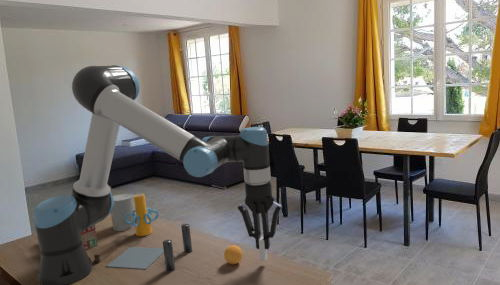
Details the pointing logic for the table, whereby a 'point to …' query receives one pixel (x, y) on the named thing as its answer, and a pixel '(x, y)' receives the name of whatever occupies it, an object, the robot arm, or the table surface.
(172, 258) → the post
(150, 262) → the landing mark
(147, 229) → the cylinder
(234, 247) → the ball
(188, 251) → the post
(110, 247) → the stopper wall
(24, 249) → the table surface
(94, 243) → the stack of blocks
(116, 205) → the white tapered bucket
